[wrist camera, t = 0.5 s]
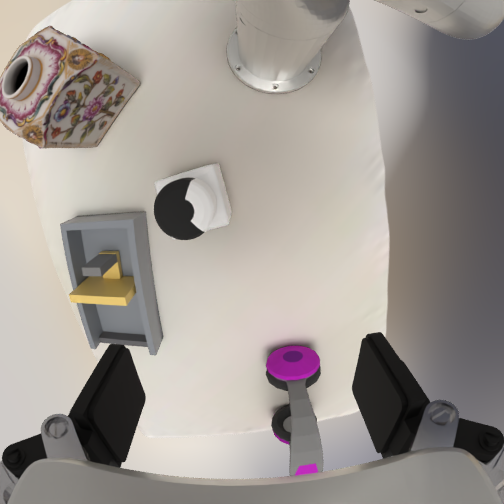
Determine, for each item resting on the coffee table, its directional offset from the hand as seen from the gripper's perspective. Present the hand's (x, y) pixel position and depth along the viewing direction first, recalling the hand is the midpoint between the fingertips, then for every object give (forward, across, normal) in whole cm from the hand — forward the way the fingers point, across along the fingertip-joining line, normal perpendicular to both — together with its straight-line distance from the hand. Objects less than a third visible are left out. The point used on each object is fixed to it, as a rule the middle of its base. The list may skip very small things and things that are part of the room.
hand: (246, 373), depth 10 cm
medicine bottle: (+30, +6, -4) cm, 31 cm away
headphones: (+31, -7, +31) cm, 44 cm away
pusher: (+29, +20, +6) cm, 36 cm away
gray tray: (+30, +20, +8) cm, 37 cm away
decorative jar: (+30, +21, -20) cm, 42 cm away
